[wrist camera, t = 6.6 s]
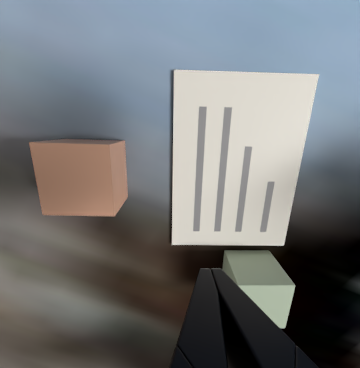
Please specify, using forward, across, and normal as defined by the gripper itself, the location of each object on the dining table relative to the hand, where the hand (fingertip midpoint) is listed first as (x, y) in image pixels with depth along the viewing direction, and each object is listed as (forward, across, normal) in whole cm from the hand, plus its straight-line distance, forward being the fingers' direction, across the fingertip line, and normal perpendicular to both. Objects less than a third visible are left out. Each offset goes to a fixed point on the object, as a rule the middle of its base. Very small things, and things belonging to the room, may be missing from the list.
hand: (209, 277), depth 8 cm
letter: (+10, -4, -2) cm, 11 cm away
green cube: (+10, -6, +8) cm, 14 cm away
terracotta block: (+10, +8, -2) cm, 13 cm away
